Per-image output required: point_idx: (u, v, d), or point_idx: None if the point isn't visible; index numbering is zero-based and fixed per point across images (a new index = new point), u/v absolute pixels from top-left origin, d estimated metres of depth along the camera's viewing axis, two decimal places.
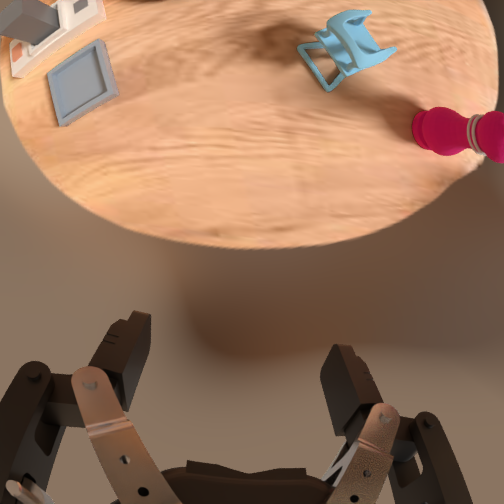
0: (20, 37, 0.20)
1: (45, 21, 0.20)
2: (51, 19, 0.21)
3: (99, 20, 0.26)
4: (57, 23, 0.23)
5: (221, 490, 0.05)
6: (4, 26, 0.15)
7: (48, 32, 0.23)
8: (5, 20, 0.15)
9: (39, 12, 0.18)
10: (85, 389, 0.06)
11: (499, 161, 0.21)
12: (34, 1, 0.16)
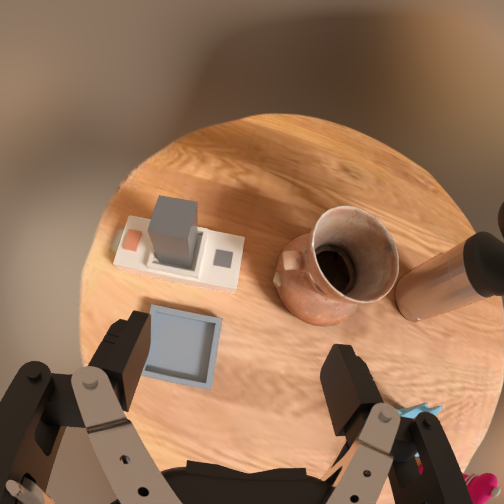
0: (156, 247, 0.34)
1: (190, 255, 0.35)
2: (192, 253, 0.37)
3: (228, 292, 0.41)
4: (192, 259, 0.39)
5: (221, 490, 0.05)
6: (158, 227, 0.30)
7: (180, 263, 0.38)
8: (163, 218, 0.30)
9: (192, 239, 0.35)
10: (85, 389, 0.06)
11: None
12: (196, 220, 0.34)
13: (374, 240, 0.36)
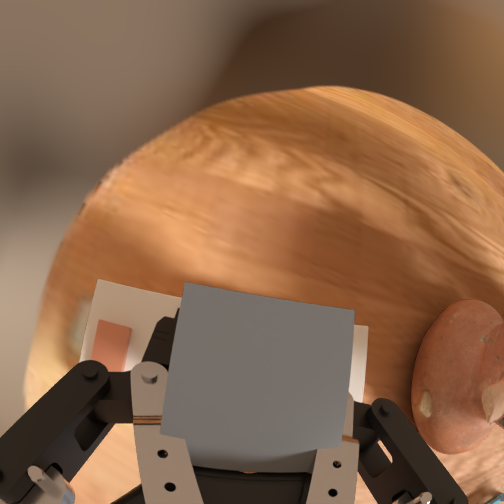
0: None
1: None
2: None
3: None
4: None
5: (221, 490, 0.05)
6: (207, 446, 0.06)
7: None
8: (220, 404, 0.06)
9: None
10: (147, 384, 0.07)
11: None
12: None
13: None
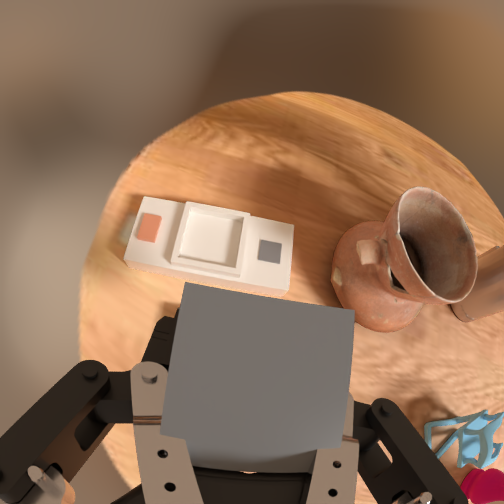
0: None
1: None
2: None
3: (274, 294, 0.32)
4: None
5: (221, 490, 0.05)
6: (207, 447, 0.06)
7: None
8: (221, 404, 0.06)
9: None
10: (146, 384, 0.07)
11: None
12: None
13: (446, 230, 0.27)
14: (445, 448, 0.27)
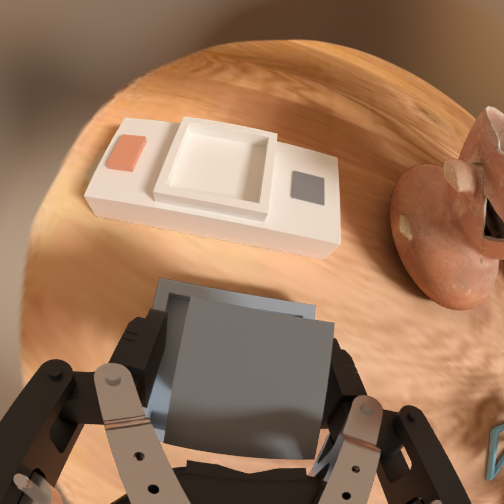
0: None
1: None
2: None
3: (315, 254, 0.21)
4: None
5: (221, 490, 0.05)
6: (206, 433, 0.07)
7: None
8: (218, 397, 0.07)
9: None
10: (109, 386, 0.07)
11: None
12: None
13: None
14: None
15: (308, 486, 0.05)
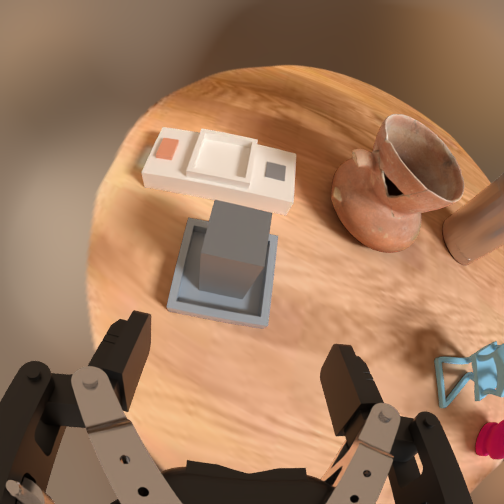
0: (204, 274, 0.24)
1: None
2: None
3: (280, 211, 0.35)
4: None
5: (221, 490, 0.05)
6: (218, 248, 0.20)
7: (230, 293, 0.28)
8: (224, 234, 0.21)
9: None
10: (85, 389, 0.06)
11: None
12: None
13: (432, 157, 0.30)
14: (458, 389, 0.29)
15: (319, 487, 0.05)
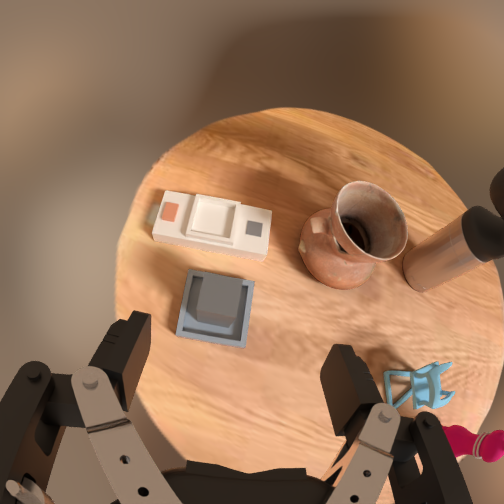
0: (200, 316, 0.36)
1: None
2: None
3: (258, 259, 0.46)
4: None
5: (221, 490, 0.05)
6: (207, 306, 0.32)
7: (219, 324, 0.40)
8: (211, 296, 0.32)
9: None
10: (85, 389, 0.06)
11: (490, 461, 0.22)
12: None
13: (385, 212, 0.41)
14: (405, 397, 0.41)
15: (319, 487, 0.05)
